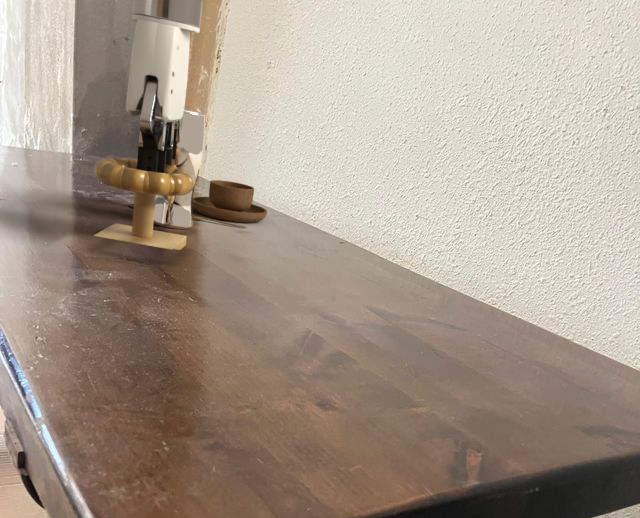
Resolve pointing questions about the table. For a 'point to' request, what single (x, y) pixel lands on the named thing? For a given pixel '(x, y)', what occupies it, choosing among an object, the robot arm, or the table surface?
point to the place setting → (228, 203)
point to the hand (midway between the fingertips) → (153, 180)
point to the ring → (144, 177)
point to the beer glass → (188, 158)
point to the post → (143, 227)
